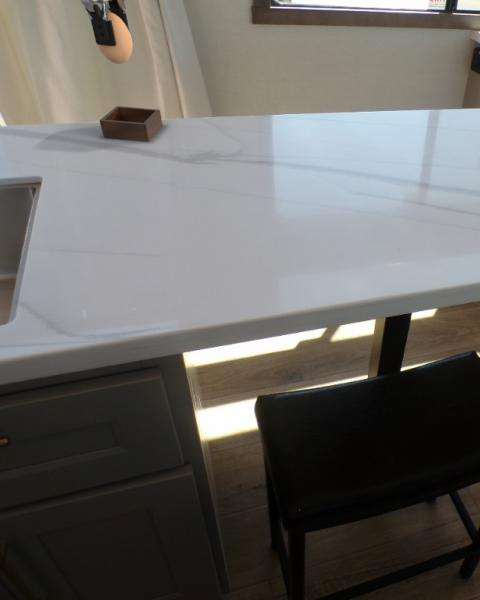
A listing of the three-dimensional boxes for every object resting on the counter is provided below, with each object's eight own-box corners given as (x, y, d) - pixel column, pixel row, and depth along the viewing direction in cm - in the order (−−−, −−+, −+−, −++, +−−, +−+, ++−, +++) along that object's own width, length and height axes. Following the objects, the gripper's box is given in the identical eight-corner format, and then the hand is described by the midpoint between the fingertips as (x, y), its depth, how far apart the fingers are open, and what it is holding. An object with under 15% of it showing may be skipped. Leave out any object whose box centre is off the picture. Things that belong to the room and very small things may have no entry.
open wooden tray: (103, 137, 100) (99, 120, 98) (120, 122, 106) (116, 105, 104) (149, 141, 100) (145, 124, 98) (162, 126, 107) (159, 109, 105)
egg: (128, 69, 93) (118, 17, 88) (95, 65, 93) (83, 13, 88) (141, 61, 98) (132, 11, 92) (110, 57, 97) (98, 7, 92)
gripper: (85, -89, 88) (111, 28, 99) (33, -85, 75) (70, 50, 86) (131, -83, 89) (152, 32, 100) (88, -79, 75) (117, 55, 86)
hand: (113, 39), depth 93 cm, fingers closed on egg, 5 cm apart
